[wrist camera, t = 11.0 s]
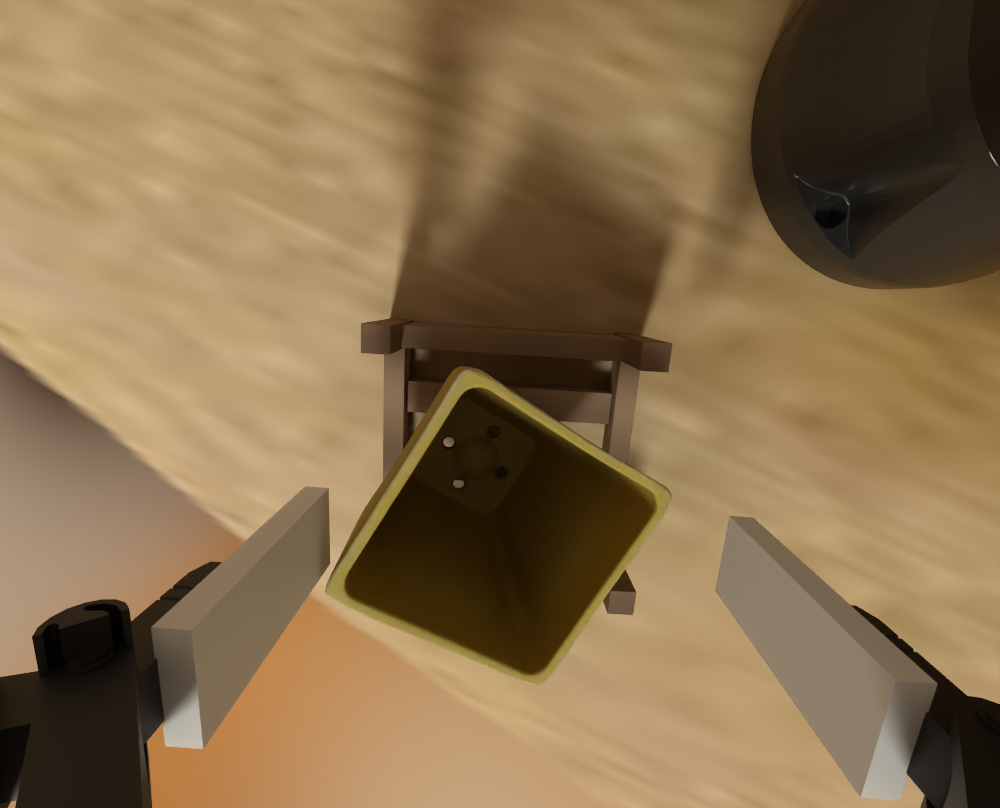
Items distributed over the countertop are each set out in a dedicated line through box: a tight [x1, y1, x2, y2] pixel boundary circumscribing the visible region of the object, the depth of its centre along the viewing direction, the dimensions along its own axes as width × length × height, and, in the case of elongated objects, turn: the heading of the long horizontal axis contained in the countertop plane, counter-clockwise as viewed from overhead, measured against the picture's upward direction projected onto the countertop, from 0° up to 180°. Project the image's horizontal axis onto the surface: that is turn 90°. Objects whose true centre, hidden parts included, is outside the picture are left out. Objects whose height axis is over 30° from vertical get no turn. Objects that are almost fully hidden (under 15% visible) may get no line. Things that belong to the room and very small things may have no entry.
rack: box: [361, 319, 672, 615], centre depth 23 cm, size 13×13×5 cm
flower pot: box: [325, 366, 672, 685], centre depth 19 cm, size 9×9×9 cm
